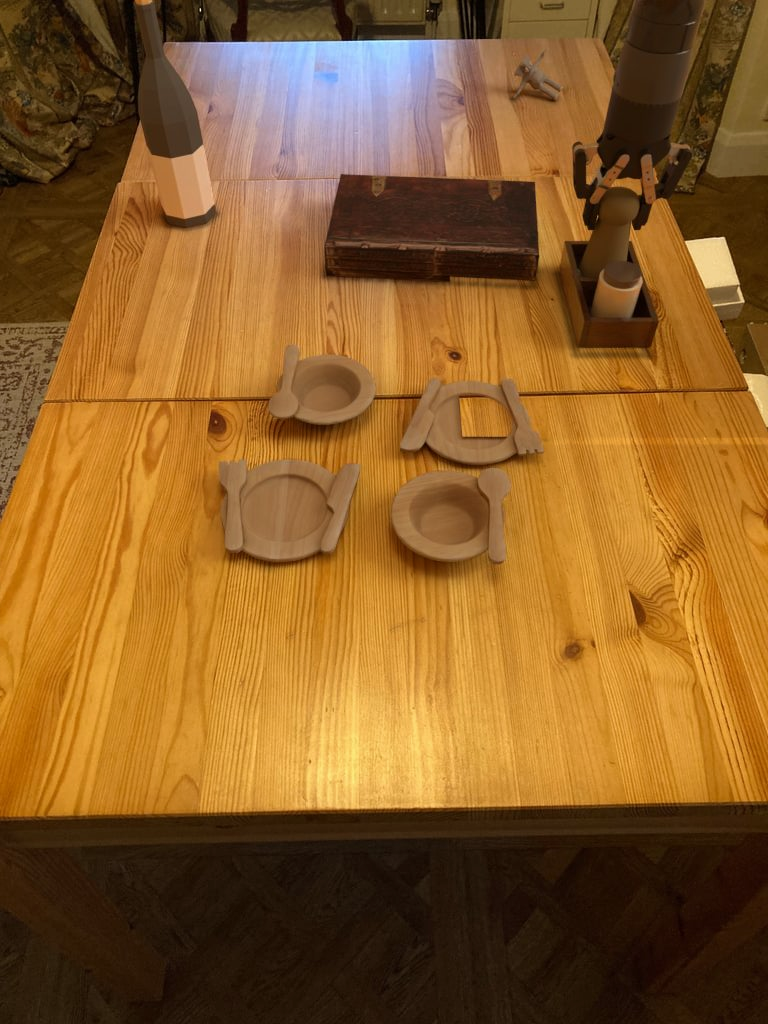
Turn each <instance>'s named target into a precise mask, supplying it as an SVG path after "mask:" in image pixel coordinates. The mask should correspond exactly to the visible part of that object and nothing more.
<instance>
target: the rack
mask: <svg viewBox="0 0 768 1024" xmlns="http://www.w3.org/2000/svg"><path fill="white" fill-rule="evenodd" d="M588 242H589V240H564V242H563V246H562V252H561V258H560V262H559V271H560V276H561V279H562V284H563V288H564V292H565V297H566V301H567V306H568V310H569V314H570V318H571V322H572V327H573V331H574V335H575V340H576V344H577V348H579V349H582V348H584V349H651V347H652V345H653V342H654V339H655V335H656V332H657V329H658V326H659V323H660V320H659V316H658V313H657V312H656V308H655V305H654V303H653V299H652V297H651V294H650V293H651V292H650V291H649V287H648V285H647V282H646V279H645V275H644V272H643V270H642V267H641V264H640V262H639V259H638V256H637V253H636V249H635V247H634V244H633V241H632V240H629V245H628V253H627V262H630V263H633V264H635V265H636V266H637V267H639V269H640V270H641V277H642V280H643V282H642V286H641V289H640V292H639V296H638V299H637V302H636V306H635V309H634V312H633V315H632V318H590V316H589V315H590V311H591V307H592V303H593V299H594V295H595V291H596V287H597V283H598V279H599V277H583V276H582V274H581V273H580V271H579V266H580V264H581V261H582V258H583V256H584V253H585V250H586V248H587V245H588Z"/></svg>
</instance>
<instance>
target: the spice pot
mask: <svg viewBox="0 0 768 1024" xmlns="http://www.w3.org/2000/svg"><path fill="white" fill-rule="evenodd" d="M641 270H642V269H641ZM641 270H640V269H639V267H637V266H636V265H635V264H633V263H630V262H627V261H613V262H610V263H608V264H607V265H606V266H605V269H603V270H602V271H601V273H600V275H599V279H598V283H597V287H596V291H595V295H594V299H593V303H592V307H591V311H590V315H589V316H590V318H632V315H633V312H634V309H635V306H636V302H637V299H638V296H639V292H640V289H641V286H642V282H643V280H642V277H641Z"/></svg>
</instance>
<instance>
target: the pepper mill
mask: <svg viewBox="0 0 768 1024" xmlns="http://www.w3.org/2000/svg"><path fill="white" fill-rule="evenodd" d="M638 195H639V194H638V193H637V192H636V191H634V190H633V189H632V188H629V187H625V186H617V185H616V186H611V187H610V188H609V189H607V190H606V192H605V193H604V195H603V196H602V198H601V199H600V201H599V202H600V207H599V211H598V216H597V220H596V224H595V229H594V230H592V232H591V235H590V237H589V240H588V241H589V242H588V245H587V248H586V250H585V253H584V256H583V258H582V261H581V264H580V266H579V271H580V273H581V274H582V276H583V277H599V275H600V273H601V271H602V270H603V269H605V266H606V265H607V264H608V263H610V262H613V261H627V253H628V245H629V241H630V238H631V237H630V236H631V228H632V220H633V219H635V217H636V215H637V214H638V211H639V208H640V200H639V197H638Z"/></svg>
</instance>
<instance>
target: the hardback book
mask: <svg viewBox="0 0 768 1024" xmlns="http://www.w3.org/2000/svg"><path fill="white" fill-rule="evenodd" d="M538 225H539V224H538V210H537V193H536V181H526V180H525V181H524V180H503V179H502V180H501V179H498V180H497V179H479V178H478V179H477V178H475V179H474V178H451V177H449V178H448V177H427V176H426V177H424V176H401V175H400V176H399V175H398V176H397V175H378V174H377V175H374V174H372V175H370V174H349V173H348V174H347V173H344V174H343V173H340V176H339V180H338V184H337V189H336V193H335V199H334V203H333V207H332V211H331V215H330V219H329V224H328V228H327V233H326V237H325V242H324V261H325V262H324V264H325V265H324V267H325V275H326V276H327V277H329V276H330V277H348V278H349V277H351V278H368V279H369V278H371V279H372V278H373V279H391V280H393V279H394V280H414V281H415V280H416V281H433V282H434V281H436V282H440V281H441V282H451V278H471V279H472V278H474V279H492V280H512V281H513V280H515V281H536V280H537V279H536V278H537V273H538V267H539V261H540V246H539V245H540V244H539V228H538V227H539V226H538Z"/></svg>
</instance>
